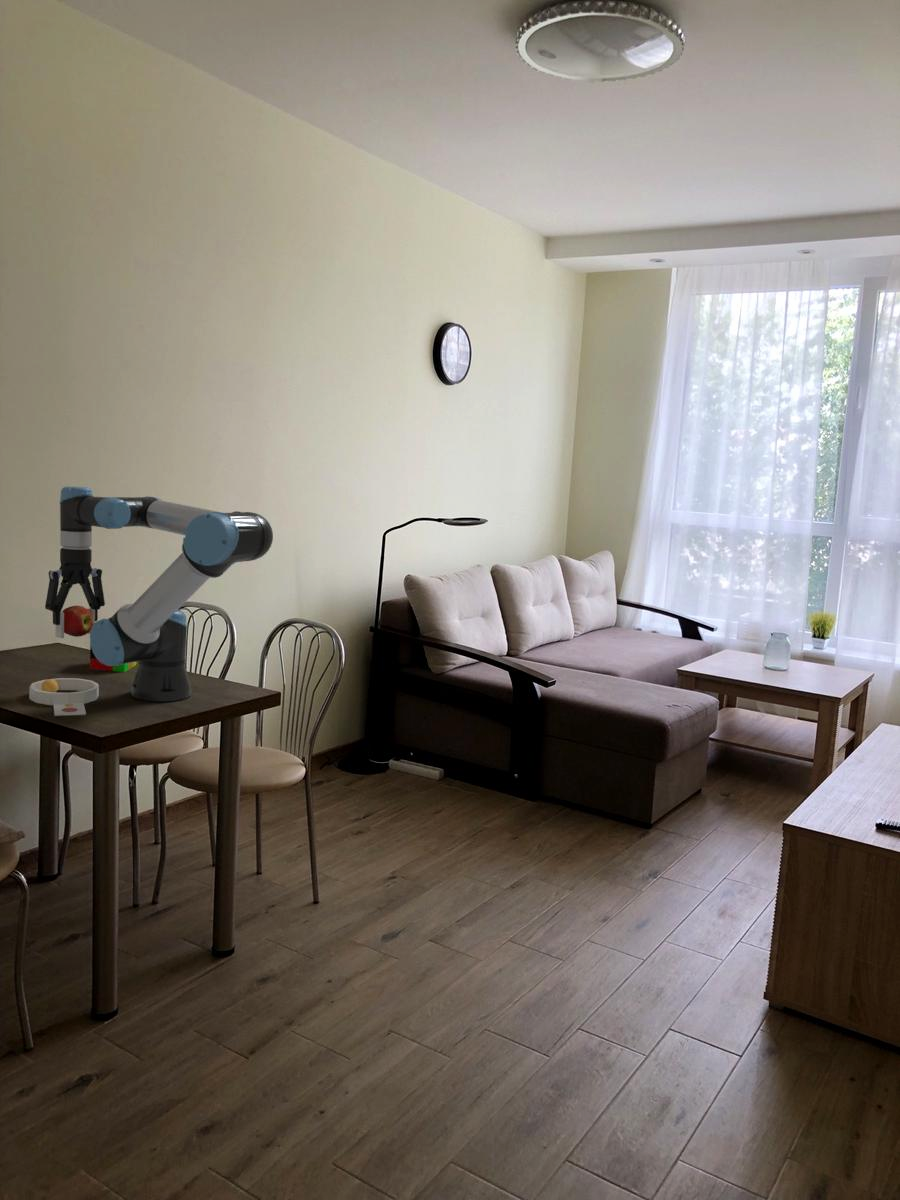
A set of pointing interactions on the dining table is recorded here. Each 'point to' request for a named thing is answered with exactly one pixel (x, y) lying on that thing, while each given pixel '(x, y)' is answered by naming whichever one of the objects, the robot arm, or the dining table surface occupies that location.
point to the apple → (77, 621)
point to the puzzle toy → (99, 666)
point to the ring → (86, 694)
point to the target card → (69, 709)
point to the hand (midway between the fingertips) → (75, 635)
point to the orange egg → (49, 686)
